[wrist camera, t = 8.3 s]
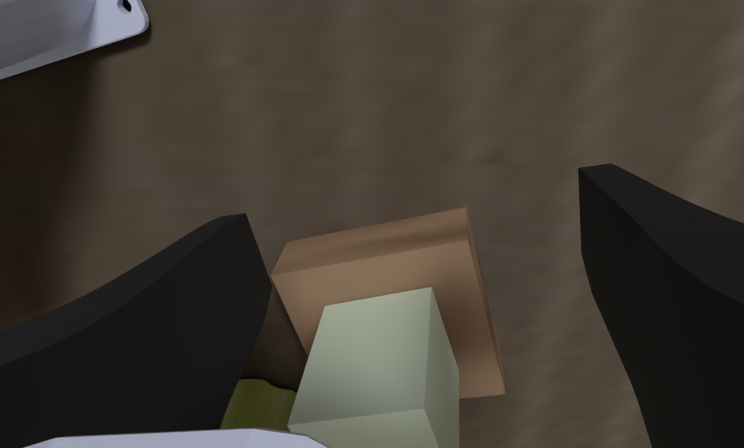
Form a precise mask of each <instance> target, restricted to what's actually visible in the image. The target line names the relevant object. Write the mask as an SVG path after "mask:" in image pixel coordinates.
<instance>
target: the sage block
mask: <svg viewBox="0 0 744 448" xmlns="http://www.w3.org/2000/svg"><path fill="white" fill-rule="evenodd" d="M287 426H288V428H289V429H290V431H291V432H295V433H303V434H307V435H309V436H310V437H312V438H314V439H316V440H318V441H320V442H322V443H324V444H326V445H327V446H329V447H331V448H459V370H458V367H457V364H456V361H455V357H454V354H453V351H452V348H451V345H450V342H449V339H448V336H447V333H446V330H445V327H444V324H443V321H442V318H441V315H440V312H439V309H438V305H437V302H436V299H435V296H434V293H433V290H432V287H428V288H423V289H417V290H411V291H406V292H400V293H395V294H389V295H383V296H378V297H372V298H367V299H361V300H355V301H350V302H344V303H339V304H333V305H327V306H325V307H324V310H323V313H322V317H321V320H320V323H319V326H318V329H317V332H316V336H315V339H314V342H313V345H312V348H311V351H310V355H309V358H308V361H307V364H306V367H305V370H304V373H303V377H302V380H301V383H300V386H299V389H298V392H297V396H296V399H295V402H294V405H293V408H292V411H291V415H290V418H289V421H288V424H287Z"/></svg>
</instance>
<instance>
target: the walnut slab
mask: <svg viewBox="0 0 744 448" xmlns="http://www.w3.org/2000/svg"><path fill="white" fill-rule="evenodd" d="M271 278H272V280H273V282H274V284H275V286H276V289H277V291H278V293H279V295H280V297H281V300H282V302H283V304H284V306H285V308H286V311H287V313H288V315H289V317H290V319H291V322H292V324H293V326H294V328H295V330H296V333H297V335H298V337H299V339H300V341H301V343H302V346H303V348H304V350H305V352H306V354H307V357H308V358H309V355H310V351H311V348H312V345H313V342H314V339H315V336H316V332H317V329H318V326H319V323H320V320H321V317H322V313H323V310H324V307H325V306H327V305H333V304H339V303H344V302H350V301H355V300H361V299H367V298H372V297H378V296H383V295H389V294H395V293H400V292H406V291H411V290H417V289H423V288H428V287H432V290H433V293H434V296H435V299H436V302H437V305H438V309H439V312H440V315H441V318H442V321H443V324H444V327H445V330H446V333H447V336H448V339H449V342H450V345H451V348H452V351H453V354H454V357H455V361H456V364H457V367H458V370H459V399H464V398H473V397H482V396H491V395H500V394H505V385H504V376H503V367H502V357H501V351H500V346H499V342H498V338H497V334H496V330H495V325H494V321H493V317H492V313H491V309H490V305H489V300H488V296H487V292H486V288H485V284H484V279H483V275H482V271H481V267H480V263H479V258H478V254H477V250H476V246H475V242H474V238H473V233H472V229H471V225H470V221H469V217H468V212H467V208H466V207H464V208H459V209H454V210H449V211H443V212H438V213H433V214H428V215H423V216H418V217H413V218H407V219H402V220H397V221H392V222H387V223H382V224H377V225H371V226H366V227H361V228H356V229H351V230H346V231H341V232H335V233H330V234H325V235H320V236H315V237H310V238H305V239H299V240H294V241H289V242H287V243H286V245H285V247H284V249H283V251H282V253H281V255H280V257H279V260H278V262H277V264H276V266H275V268H274V270H273V272H272V274H271Z"/></svg>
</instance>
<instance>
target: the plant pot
mask: <svg viewBox="0 0 744 448" xmlns="http://www.w3.org/2000/svg"><path fill="white" fill-rule="evenodd" d="M296 396H297V393H296V392H294V391H292V390H286V389H279V388H277V387H274V386H272V385H271V384H269V383H268V382H266V381H265V380H260V379H243V380H239V381H238V384H237V386H236V388H235V391H234V393H233V395H232V398H231V400H230V402H229V405H228V407H227V410H226V413H225V415H224V418H223V421H222V424H221V427H220V429H234V428H255V427H260V428H267V429H274V430H281V431H288V432H291V431H290V429H289V428H288V426H287V424H288V421H289V418H290V415H291V411H292V408H293V405H294V402H295V399H296Z"/></svg>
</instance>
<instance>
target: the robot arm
mask: <svg viewBox="0 0 744 448" xmlns="http://www.w3.org/2000/svg"><path fill="white" fill-rule="evenodd" d="M128 1H129V3H130V4H131V7H132V9H131V12H129V11H127V10H126V9H125V8H124V6H123V0H0V79H3V78H6V77H10V76H13V75H16V74H19V73H22V72H25V71H28V70H31V69H34V68H37V67H40V66H43V65H46V64H49V63H52V62H55V61H58V60H61V59H65V58H68V57H71V56H74V55H77V54H80V53H83V52H86V51H89V50H92V49H95V48H98V47H101V46H104V45H107V44H110V43H113V42H116V41H120V40H123V39H126V38H129V37H132V36H135V35H138V34H140V33H143V32H144V31H146V30H147V28H148V26H149V18H148V15H147V13H146V10H145V8H144V6H143V4H142V2H141V0H128ZM578 175H579V200H580V225H581V251H582V257H583V261H584V265H585V269H586V273H587V276H588V280H589V284H590V287H591V291H592V294H593V296H594V299H595V301H596V303H597V306H598V308H599V310H600V313H601V315H602V317H603V320H604V322H605V324H606V327H607V329H608V331H609V333H610V336H611V338H612V340H613V342H614V345H615V347H616V349H617V352H618V354H619V356H620V358H621V361H622V363H623V365H624V368H625V370H626V372H627V374H628V377H629V379H630V381H631V384H632V387H633V389H634V392H635V395H636V397H637V400H638V403H639V406H640V409H641V413H642V416H643V419H644V422H645V426H646V429H647V432H648V435H649V439H650V442H651V445H652V448H744V223H741V222H738V221H735V220H732V219H730V218H727V217H724V216H722V215H719V214H717V213H714V212H712V211H709V210H707V209H705V208H702V207H700V206H697V205H695V204H693V203H690V202H688V201H686V200H684V199H682V198H679V197H677V196H675V195H673V194H671V193H669V192H667V191H665V190H663V189H661V188H659V187H657V186H655V185H653V184H651V183H649V182H647V181H645V180H643V179H642V178H640V177H638V176H636V175H634V174H632V173H630V172H628V171H626V170H624V169H622V168H620V167H618V166H616V165H613V164H604V165H597V166H589V167H582V168H578ZM271 289H272V284H271V282H270V279H269V276H268V273H267V271H266V268H265V265H264V262H263V260H262V257H261V254H260V251H259V249H258V246H257V243H256V240H255V238H254V235H253V232H252V230H251V227H250V224H249V221H248V219H247V216H246V213H244V214H236V215H229V216H222V217H219V218H217V219H214V220H212V221H210V222H208V223H206V224H204V225H203V226H201V227H199V228H197V229H196V230H194V231H192V232H191V233H189V234H187V235H186V236H184V237H183V238H181V239H179V240H178V241H176V242H175V243H173V244H171V245H170V246H168V247H167V248H165V249H164V250H162V251H160V252H159V253H157V254H156V255H154V256H152V257H151V258H149V259H148V260H146V261H144V262H143V263H141V264H139V265H138V266H136V267H134V268H132V269H131V270H129V271H127V272H126V273H124V274H122V275H121V276H119V277H117V278H116V279H114V280H112V281H111V282H109V283H107V284H105V285H103V286H102V287H100V288H98V289H96V290H94V291H92V292H90V293H88V294H86V295H84V296H82V297H80V298H78V299H76V300H74V301H72V302H70V303H68V304H66V305H64V306H62V307H60V308H57V309H55V310H53V311H51V312H48V313H46V314H43V315H41V316H39V317H36V318H34V319H32V320H29V321H27V322H25V323H22V324H20V325H17V326H15V327H13V328H10V329H8V330H5V331H3V332H0V448H331V447H329V446H327V445H326V444H324V443H322V442H320V441H318V440H316V439H314V438H312V437H310V436H309V435H307V434H303V433H295V432H288V431H281V430H274V429H267V428H260V427H255V428H234V429H220V427H221V424H222V421H223V418H224V415H225V413H226V410H227V407H228V405H229V402H230V400H231V398H232V395H233V393H234V391H235V388H236V386H237V384H238V381H239V379H240V377H241V374H242V372H243V370H244V367H245V365H246V363H247V361H248V358H249V356H250V354H251V351H252V349H253V347H254V344H255V342H256V339H257V337H258V335H259V332H260V330H261V327H262V325H263V322H264V318H265V314H266V311H267V307H268V303H269V298H270V294H271Z"/></svg>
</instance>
